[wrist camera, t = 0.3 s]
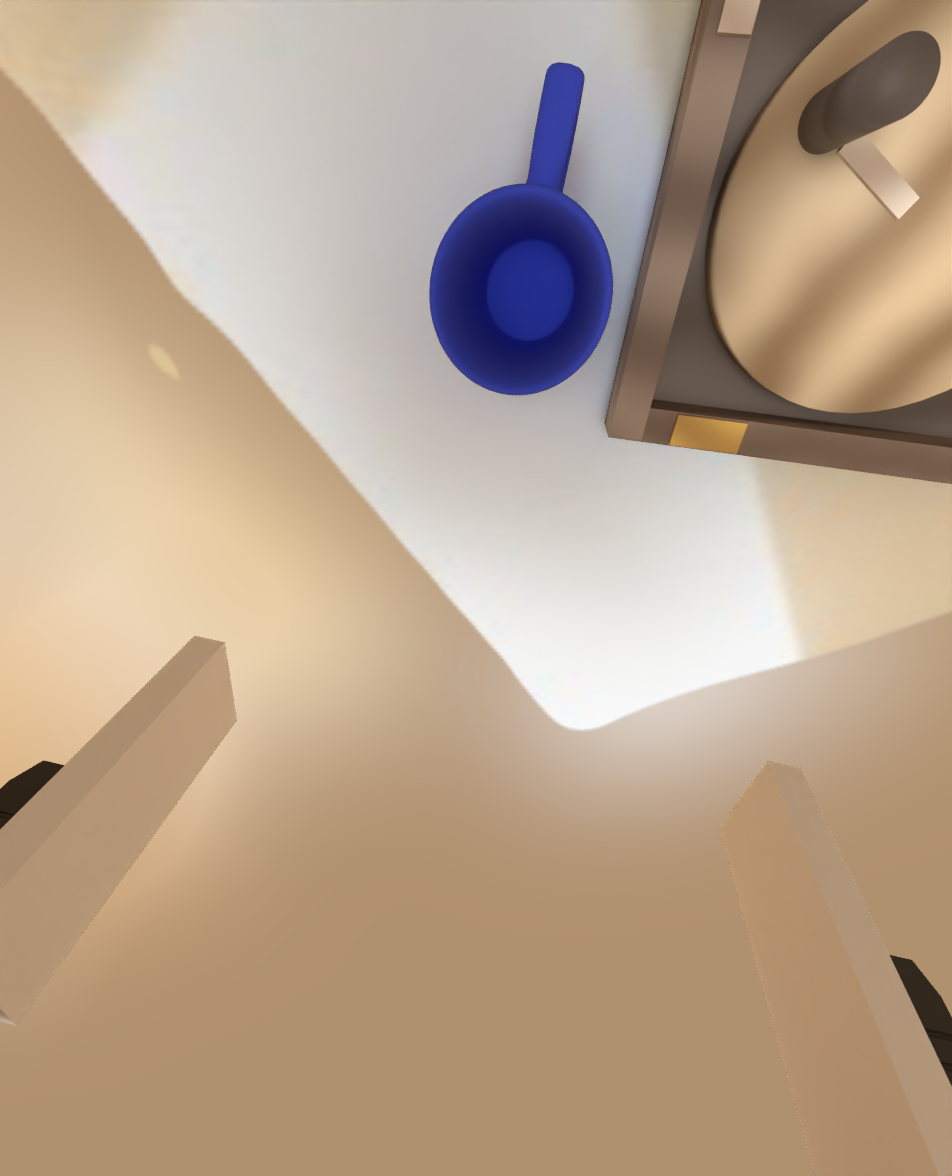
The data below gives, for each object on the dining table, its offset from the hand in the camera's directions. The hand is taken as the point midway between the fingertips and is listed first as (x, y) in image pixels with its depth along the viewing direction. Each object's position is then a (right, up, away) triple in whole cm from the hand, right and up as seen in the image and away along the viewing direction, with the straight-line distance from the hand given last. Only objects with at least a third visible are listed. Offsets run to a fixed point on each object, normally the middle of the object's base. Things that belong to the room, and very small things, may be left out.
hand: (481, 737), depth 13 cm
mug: (+4, +23, +18) cm, 30 cm away
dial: (+22, +23, +15) cm, 35 cm away
